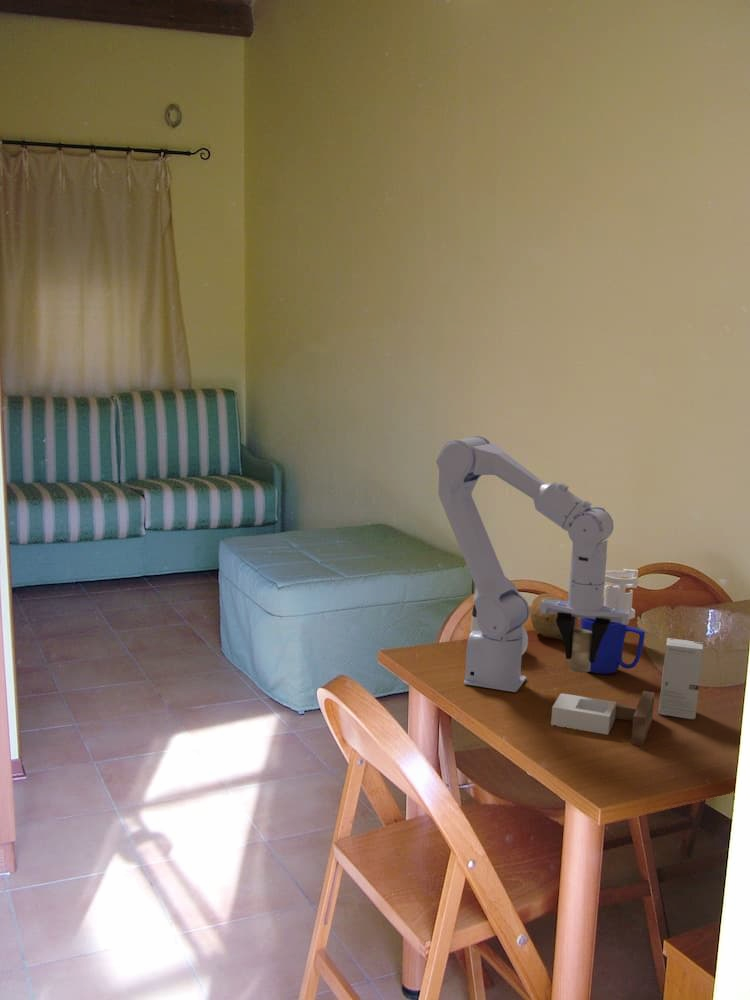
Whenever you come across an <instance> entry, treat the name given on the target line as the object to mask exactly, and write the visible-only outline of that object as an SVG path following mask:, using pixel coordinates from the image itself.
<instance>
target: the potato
mask: <svg viewBox="0 0 750 1000" xmlns="http://www.w3.org/2000/svg"><path fill="white" fill-rule="evenodd" d="M544 599H545V600H557V601H565V599H563V598H561V597H560V596H558V595H555V594H552V593H541V594H539V595H537V596H536V597H535V598H534V599H533V600H532V603H531V605H530V608H529V610H530V612H529V617H530V620H531V624H532V627H533V628H534V630H535V631H537V632H538V633H539V634H541V635H542V636H543V637H544V636H545V638H551V639H557V640H563V638H562V635H561V633H560V630H559V628H558V626H557V623H556V619H557V616H558V614H553V613H546V614H545V613H540V611H541V602H542V601H543V600H544ZM578 627H579V617H575V624H574V630H575V629H578Z"/></svg>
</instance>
